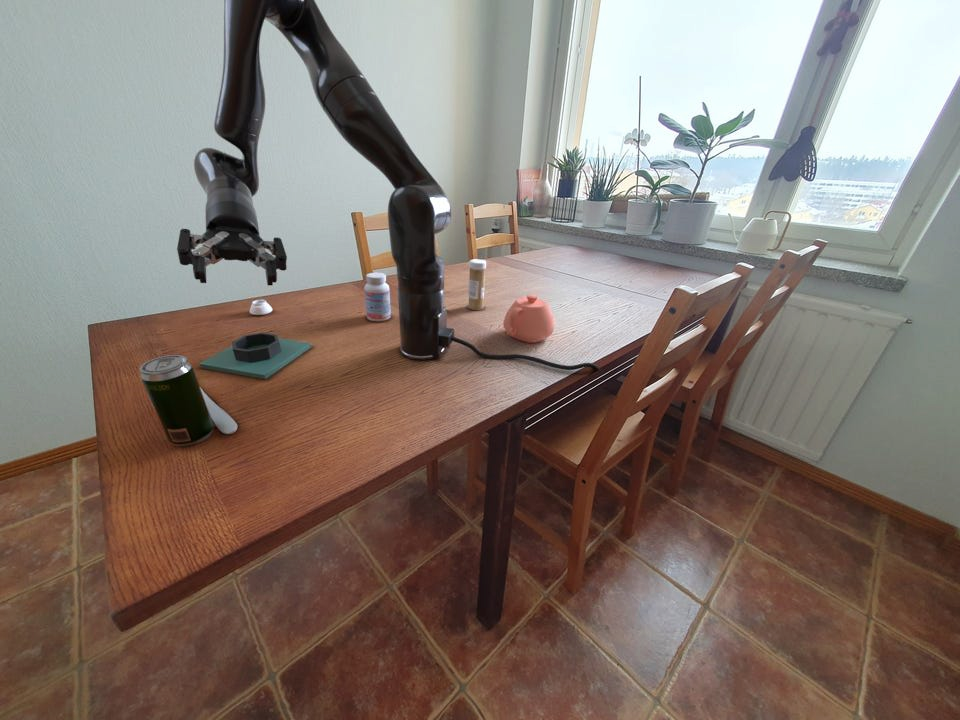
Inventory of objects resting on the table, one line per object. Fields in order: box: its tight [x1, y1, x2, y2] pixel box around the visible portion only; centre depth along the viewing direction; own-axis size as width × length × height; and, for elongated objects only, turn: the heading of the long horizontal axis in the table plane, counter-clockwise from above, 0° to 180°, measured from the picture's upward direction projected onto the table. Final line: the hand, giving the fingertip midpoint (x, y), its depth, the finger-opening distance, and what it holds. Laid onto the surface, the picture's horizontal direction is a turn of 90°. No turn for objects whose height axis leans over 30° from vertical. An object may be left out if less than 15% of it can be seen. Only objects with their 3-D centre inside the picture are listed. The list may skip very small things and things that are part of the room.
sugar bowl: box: [502, 294, 555, 344], centre depth 89 cm, size 12×14×10 cm
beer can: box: [139, 354, 214, 448], centre depth 51 cm, size 5×5×12 cm
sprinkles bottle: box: [467, 258, 487, 311], centre depth 104 cm, size 5×5×13 cm
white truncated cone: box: [249, 299, 273, 316], centre depth 95 cm, size 5×3×5 cm
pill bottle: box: [363, 272, 392, 322], centre depth 94 cm, size 6×6×11 cm
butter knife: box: [199, 385, 238, 435], centre depth 62 cm, size 1×27×3 cm
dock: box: [198, 332, 312, 380], centre depth 75 cm, size 14×14×4 cm
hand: (237, 279), depth 56 cm, fingers open, 8 cm apart
